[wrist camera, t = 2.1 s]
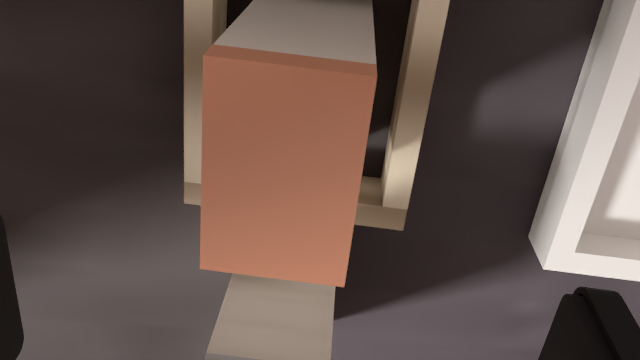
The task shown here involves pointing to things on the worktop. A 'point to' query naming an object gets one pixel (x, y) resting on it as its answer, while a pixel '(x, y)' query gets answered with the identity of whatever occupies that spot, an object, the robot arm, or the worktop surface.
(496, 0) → the worktop surface
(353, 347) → the worktop surface
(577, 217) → the tray
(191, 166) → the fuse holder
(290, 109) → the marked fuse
